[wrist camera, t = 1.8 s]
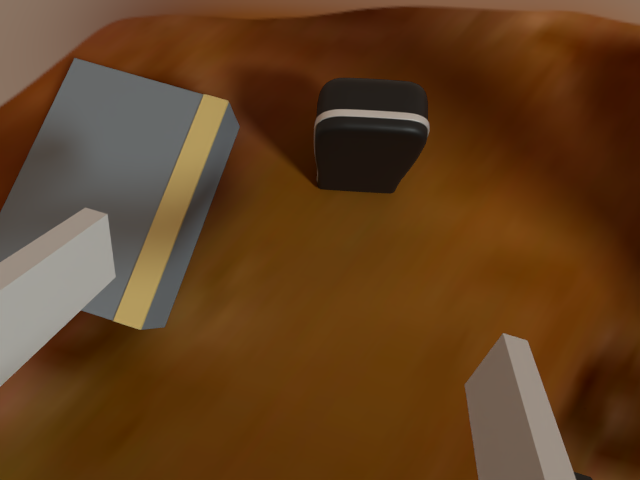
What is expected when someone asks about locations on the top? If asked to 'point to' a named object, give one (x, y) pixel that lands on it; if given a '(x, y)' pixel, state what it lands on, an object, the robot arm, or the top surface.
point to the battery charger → (368, 133)
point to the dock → (125, 181)
